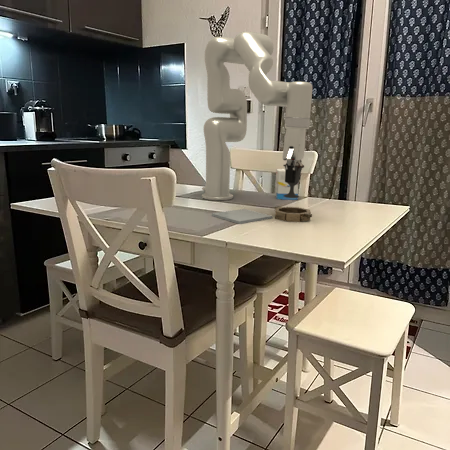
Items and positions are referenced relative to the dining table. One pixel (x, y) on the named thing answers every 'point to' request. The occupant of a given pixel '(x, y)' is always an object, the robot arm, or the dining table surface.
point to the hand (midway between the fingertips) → (292, 180)
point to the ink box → (283, 186)
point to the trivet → (242, 216)
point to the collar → (292, 214)
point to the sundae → (298, 172)
